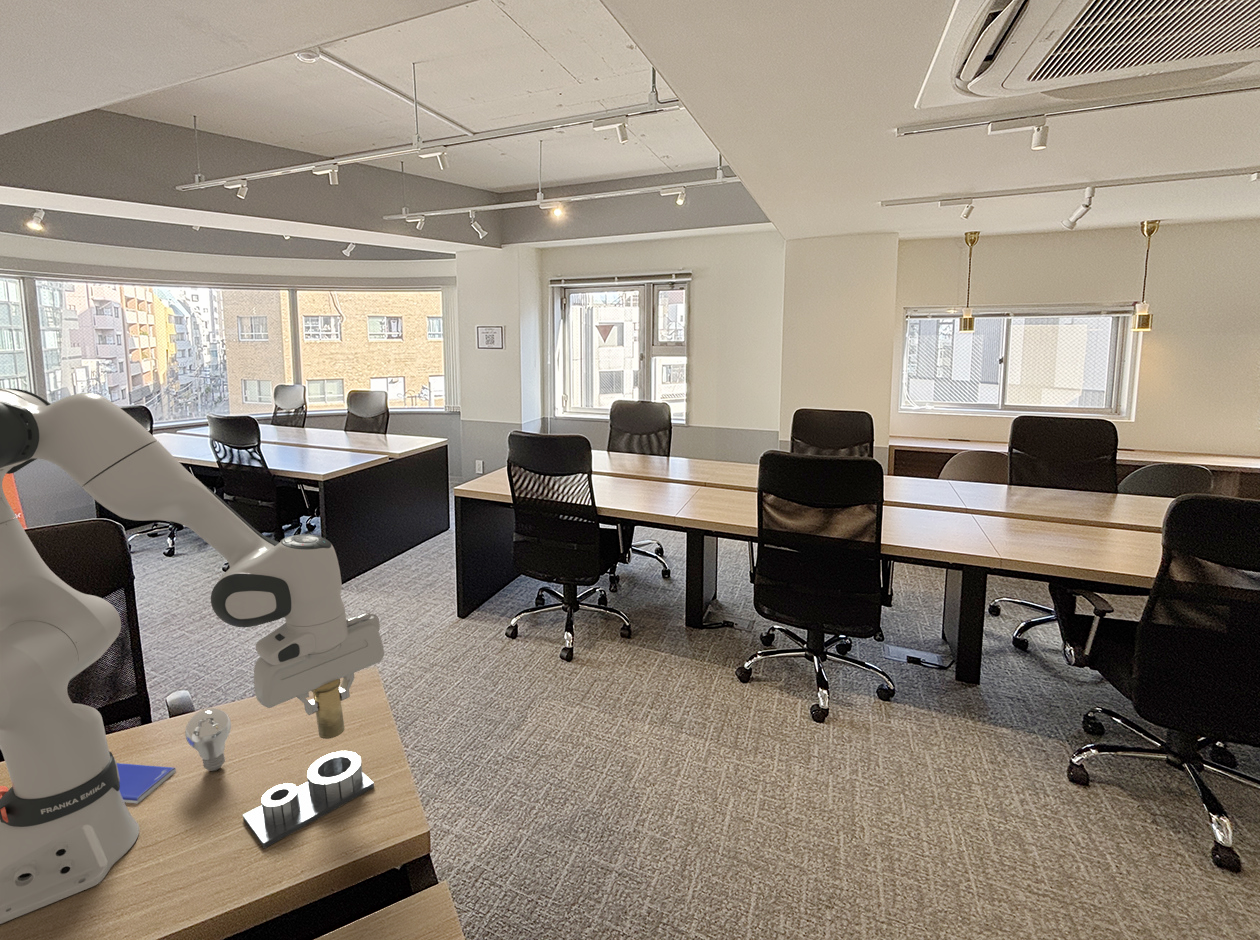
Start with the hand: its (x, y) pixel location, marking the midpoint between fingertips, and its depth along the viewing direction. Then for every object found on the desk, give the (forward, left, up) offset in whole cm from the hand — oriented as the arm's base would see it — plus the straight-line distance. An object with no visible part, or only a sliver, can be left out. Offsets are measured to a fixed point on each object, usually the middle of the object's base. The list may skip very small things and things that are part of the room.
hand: (328, 705), depth 109 cm
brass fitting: (0, 0, -5) cm, 5 cm away
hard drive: (-25, +30, -17) cm, 42 cm away
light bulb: (-13, +22, -17) cm, 30 cm away
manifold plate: (-5, 0, -17) cm, 17 cm away
